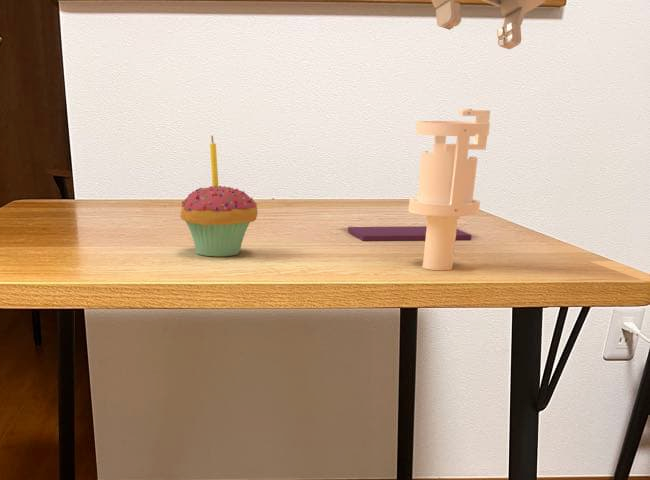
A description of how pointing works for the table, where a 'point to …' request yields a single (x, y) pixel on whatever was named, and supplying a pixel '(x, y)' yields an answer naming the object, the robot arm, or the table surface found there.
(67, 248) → the table surface
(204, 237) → the cupcake
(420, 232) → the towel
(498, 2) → the robot arm
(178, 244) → the table surface
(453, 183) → the peach tall flanged fixture
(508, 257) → the table surface
